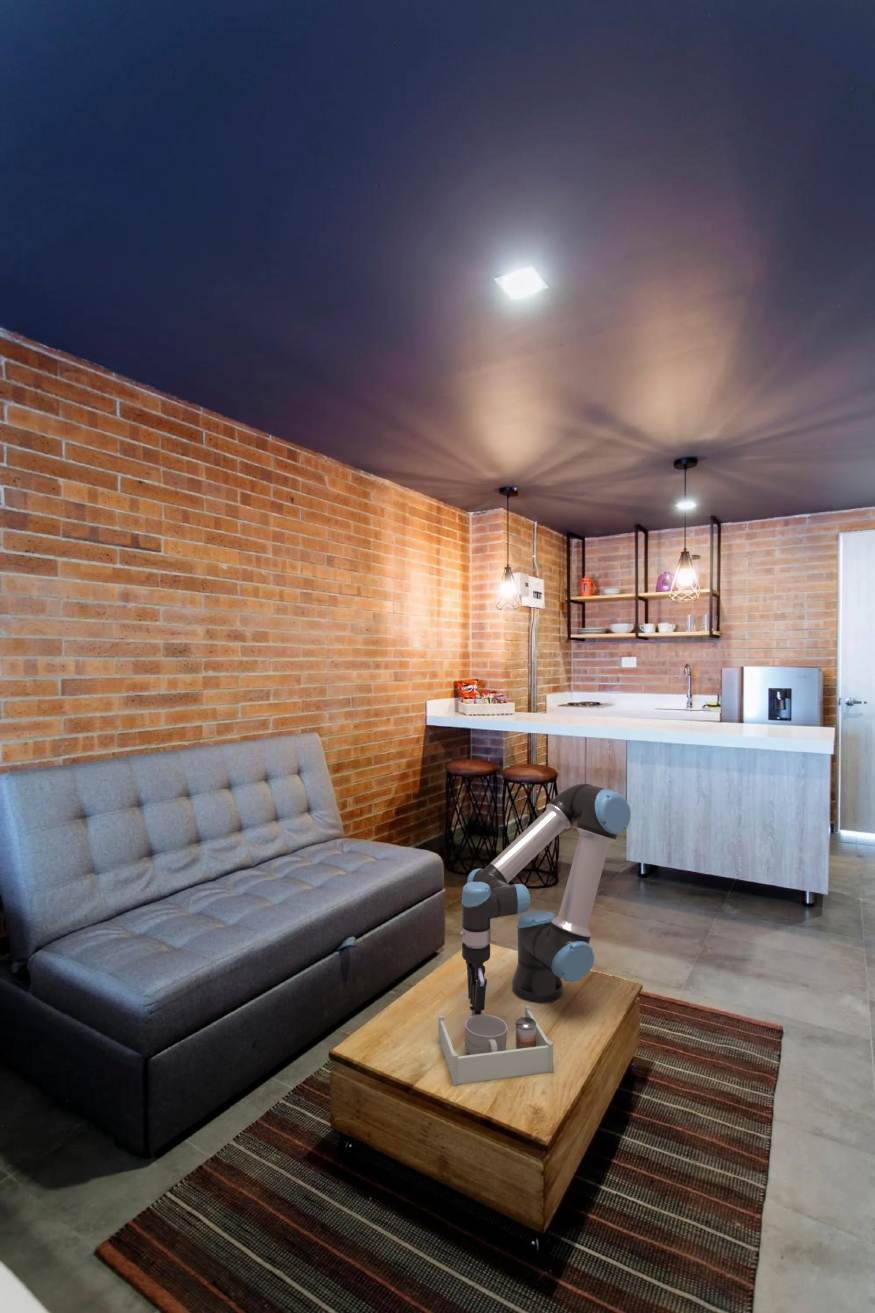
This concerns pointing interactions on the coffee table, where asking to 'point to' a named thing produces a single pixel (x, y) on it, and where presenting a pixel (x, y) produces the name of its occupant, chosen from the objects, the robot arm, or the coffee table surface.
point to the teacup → (485, 1034)
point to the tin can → (525, 1033)
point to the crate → (497, 1059)
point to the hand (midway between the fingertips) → (476, 1031)
